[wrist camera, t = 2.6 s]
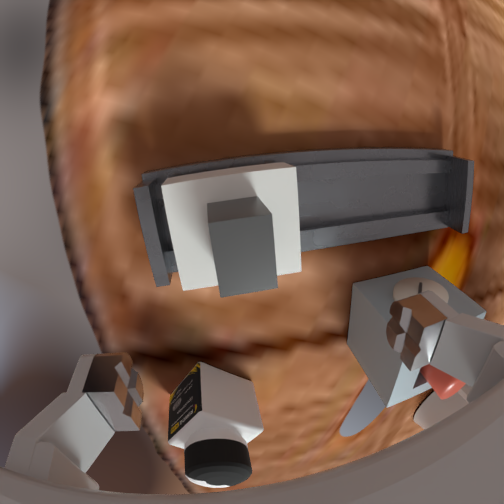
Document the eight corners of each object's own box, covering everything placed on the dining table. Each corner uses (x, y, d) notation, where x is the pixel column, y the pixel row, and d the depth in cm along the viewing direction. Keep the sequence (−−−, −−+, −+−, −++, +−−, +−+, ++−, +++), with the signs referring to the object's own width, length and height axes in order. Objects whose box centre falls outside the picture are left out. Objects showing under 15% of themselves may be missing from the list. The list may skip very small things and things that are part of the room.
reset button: (451, 329, 22) (480, 357, 17) (440, 359, 23) (464, 388, 19) (420, 342, 21) (449, 375, 17) (410, 373, 23) (434, 405, 19)
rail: (443, 148, 24) (474, 155, 20) (439, 222, 27) (467, 237, 23) (145, 171, 21) (131, 180, 17) (165, 265, 24) (158, 292, 20)
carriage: (283, 162, 20) (320, 177, 13) (289, 253, 23) (322, 302, 16) (167, 178, 19) (148, 200, 13) (185, 270, 22) (179, 327, 15)
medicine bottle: (198, 359, 29) (203, 460, 18) (254, 380, 31) (275, 471, 20) (169, 395, 30) (166, 484, 19) (220, 412, 33) (231, 495, 22)
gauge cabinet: (428, 257, 28) (489, 302, 19) (415, 322, 32) (461, 372, 23) (353, 274, 27) (410, 335, 18) (346, 343, 31) (386, 407, 22)
